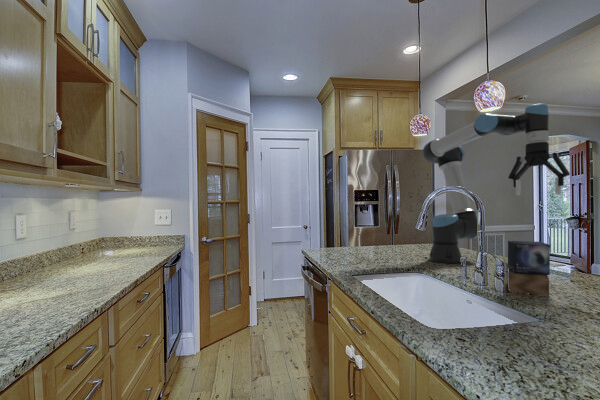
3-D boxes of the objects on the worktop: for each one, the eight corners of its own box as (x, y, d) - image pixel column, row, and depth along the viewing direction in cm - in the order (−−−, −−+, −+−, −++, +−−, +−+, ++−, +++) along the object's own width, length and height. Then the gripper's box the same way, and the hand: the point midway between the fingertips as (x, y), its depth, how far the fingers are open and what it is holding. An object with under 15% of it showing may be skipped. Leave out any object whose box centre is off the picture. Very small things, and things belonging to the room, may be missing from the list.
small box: (514, 273, 104) (514, 243, 104) (506, 269, 110) (506, 240, 110) (551, 275, 101) (550, 244, 101) (541, 271, 108) (540, 241, 108)
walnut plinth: (507, 292, 103) (507, 274, 103) (507, 282, 114) (507, 266, 114) (549, 298, 97) (549, 279, 97) (545, 287, 108) (545, 270, 108)
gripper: (499, 146, 133) (499, 195, 133) (572, 136, 112) (573, 194, 112) (507, 148, 137) (508, 195, 137) (580, 138, 116) (580, 194, 116)
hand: (537, 195), depth 125 cm, fingers open, 13 cm apart
